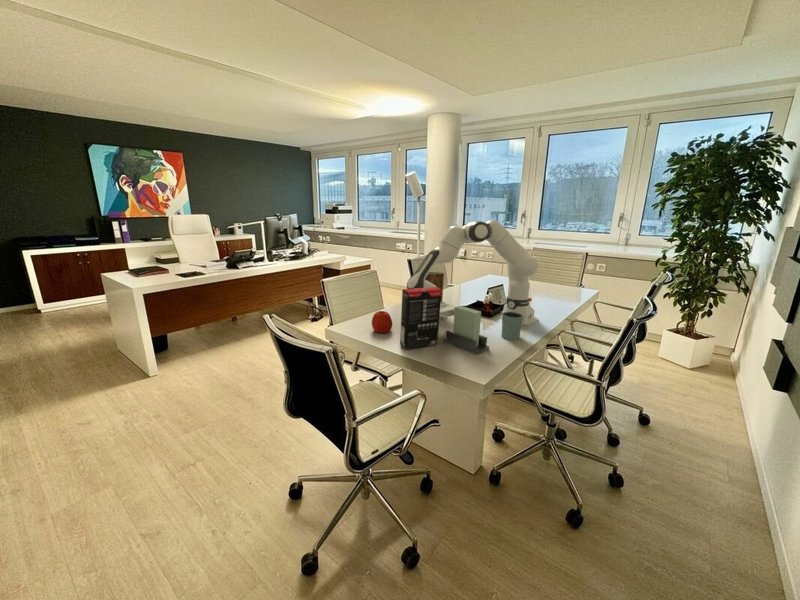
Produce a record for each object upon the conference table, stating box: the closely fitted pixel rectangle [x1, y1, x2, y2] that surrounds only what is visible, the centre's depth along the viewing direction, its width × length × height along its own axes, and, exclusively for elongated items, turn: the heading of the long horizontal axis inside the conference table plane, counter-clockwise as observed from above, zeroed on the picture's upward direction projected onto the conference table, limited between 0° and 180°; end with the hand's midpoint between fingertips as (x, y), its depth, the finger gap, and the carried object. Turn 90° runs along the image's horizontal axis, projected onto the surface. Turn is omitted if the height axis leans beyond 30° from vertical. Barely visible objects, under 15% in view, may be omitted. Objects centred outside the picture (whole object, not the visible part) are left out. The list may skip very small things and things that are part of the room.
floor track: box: [442, 330, 490, 355], centre depth 159 cm, size 9×20×6 cm, turn 40°
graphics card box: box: [399, 287, 441, 350], centre depth 155 cm, size 17×7×27 cm, turn 114°
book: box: [425, 271, 445, 302], centre depth 203 cm, size 16×6×25 cm, turn 81°
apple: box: [371, 310, 393, 334], centre depth 175 cm, size 11×11×11 cm
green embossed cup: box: [501, 312, 523, 341], centre depth 170 cm, size 10×10×12 cm
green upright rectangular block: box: [452, 305, 482, 345], centre depth 158 cm, size 4×12×16 cm, turn 41°
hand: (452, 316), depth 163 cm, fingers open, 8 cm apart
